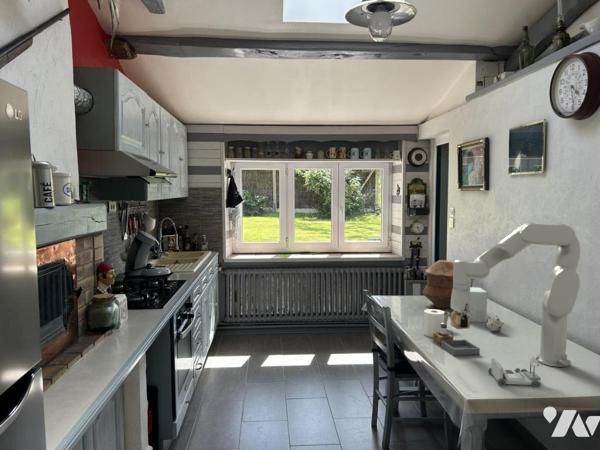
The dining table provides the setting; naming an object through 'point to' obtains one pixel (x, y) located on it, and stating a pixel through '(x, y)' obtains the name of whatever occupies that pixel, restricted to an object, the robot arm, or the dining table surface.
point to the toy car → (515, 374)
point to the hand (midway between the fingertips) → (460, 324)
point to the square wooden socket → (441, 338)
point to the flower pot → (446, 316)
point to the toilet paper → (432, 321)
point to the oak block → (458, 320)
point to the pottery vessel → (440, 283)
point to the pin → (443, 329)
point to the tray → (460, 347)
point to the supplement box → (478, 304)
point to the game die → (494, 324)
